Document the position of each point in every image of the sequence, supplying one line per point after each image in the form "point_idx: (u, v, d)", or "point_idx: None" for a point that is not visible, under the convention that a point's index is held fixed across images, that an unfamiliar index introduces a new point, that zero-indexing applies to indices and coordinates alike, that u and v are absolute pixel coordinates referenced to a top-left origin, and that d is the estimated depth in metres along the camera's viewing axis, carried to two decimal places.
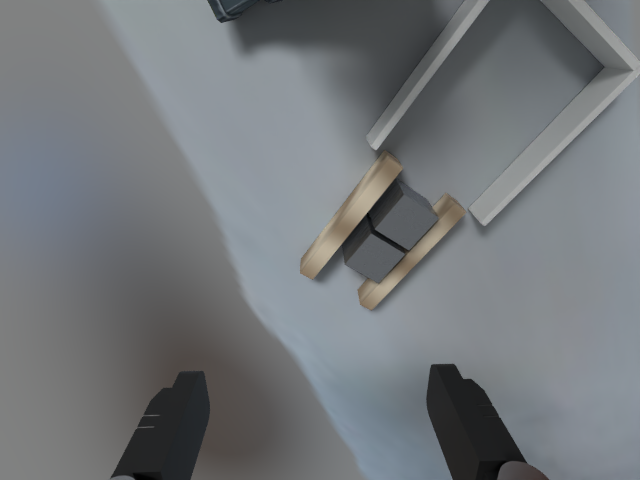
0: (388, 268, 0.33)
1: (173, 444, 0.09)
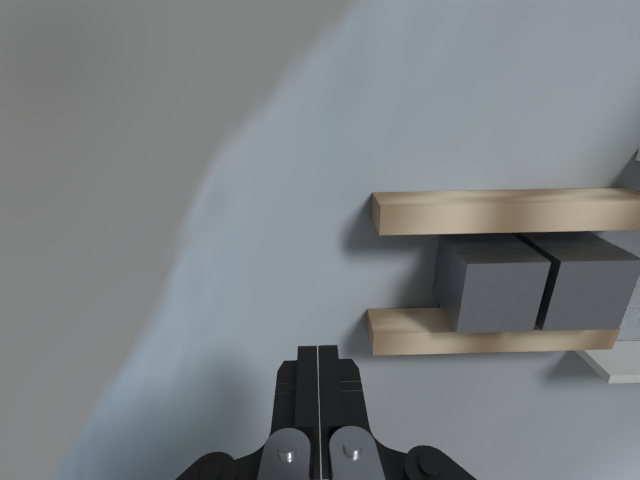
0: (493, 327, 0.18)
1: (318, 405, 0.11)
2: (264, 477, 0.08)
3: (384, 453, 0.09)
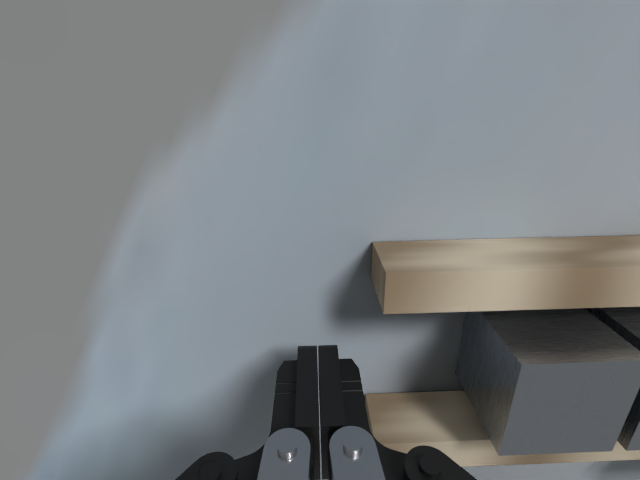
0: (554, 447, 0.12)
1: (318, 405, 0.11)
2: (264, 477, 0.08)
3: (384, 453, 0.09)
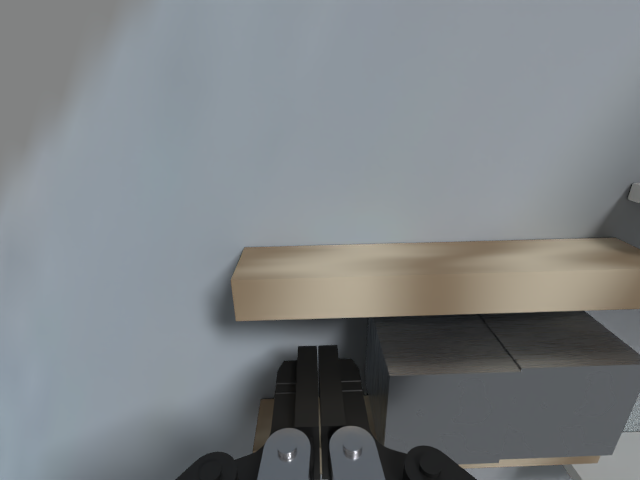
0: None
1: (318, 405, 0.11)
2: (264, 477, 0.08)
3: (384, 453, 0.09)
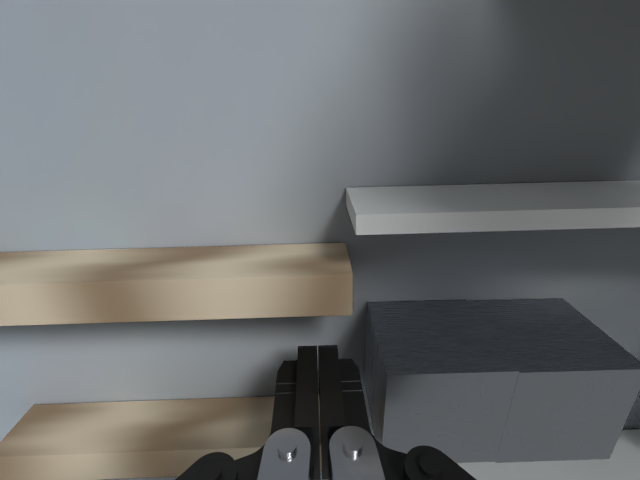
0: None
1: (318, 405, 0.11)
2: (264, 477, 0.08)
3: (384, 453, 0.09)
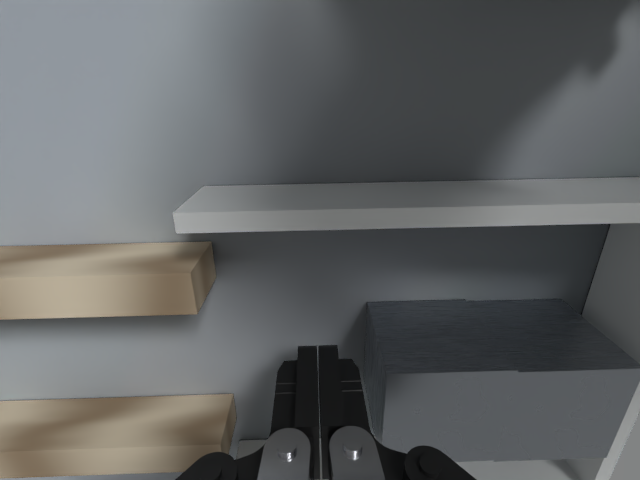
0: None
1: (318, 405, 0.11)
2: (264, 477, 0.08)
3: (384, 453, 0.09)
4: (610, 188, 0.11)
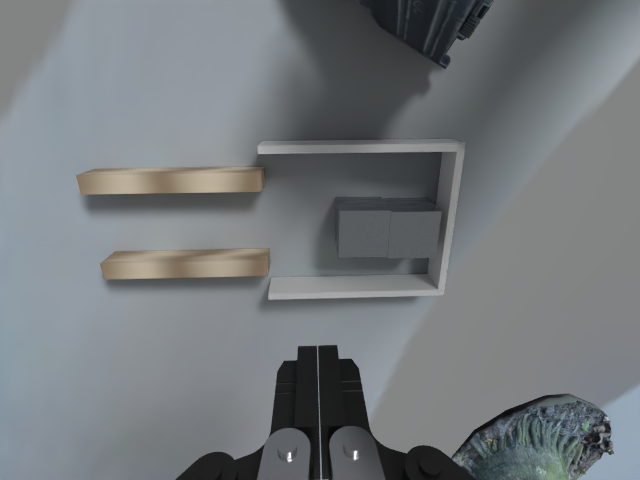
0: (361, 253, 0.29)
1: (318, 405, 0.11)
2: (264, 477, 0.08)
3: (384, 453, 0.09)
4: (429, 141, 0.28)
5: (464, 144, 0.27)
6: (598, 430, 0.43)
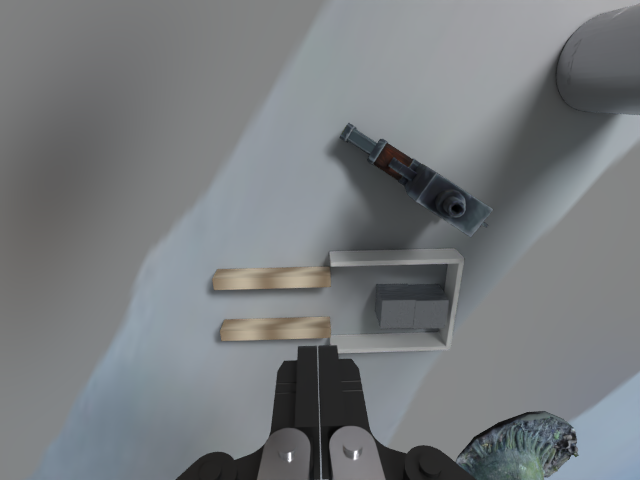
0: (395, 326, 0.43)
1: (318, 405, 0.11)
2: (264, 477, 0.08)
3: (384, 453, 0.09)
4: (440, 253, 0.43)
5: (463, 259, 0.41)
6: (567, 438, 0.57)
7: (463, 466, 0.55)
